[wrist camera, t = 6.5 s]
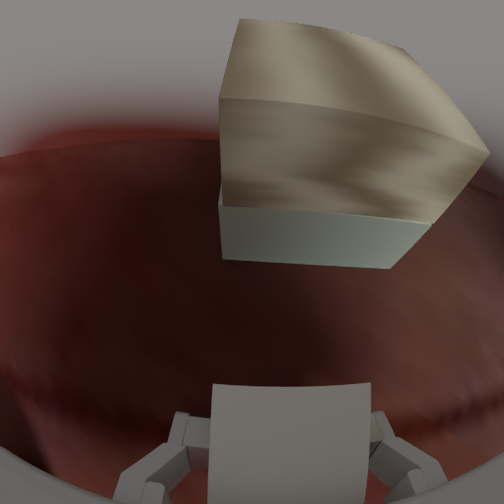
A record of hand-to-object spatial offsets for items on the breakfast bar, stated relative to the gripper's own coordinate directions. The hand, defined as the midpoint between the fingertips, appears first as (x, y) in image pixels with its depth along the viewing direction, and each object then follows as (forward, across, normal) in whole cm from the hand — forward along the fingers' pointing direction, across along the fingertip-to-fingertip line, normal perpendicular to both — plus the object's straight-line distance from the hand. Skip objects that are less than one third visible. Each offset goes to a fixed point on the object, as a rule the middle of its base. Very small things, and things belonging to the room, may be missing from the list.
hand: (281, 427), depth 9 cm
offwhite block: (+3, 0, +4) cm, 5 cm away
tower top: (+11, -3, -11) cm, 16 cm away
